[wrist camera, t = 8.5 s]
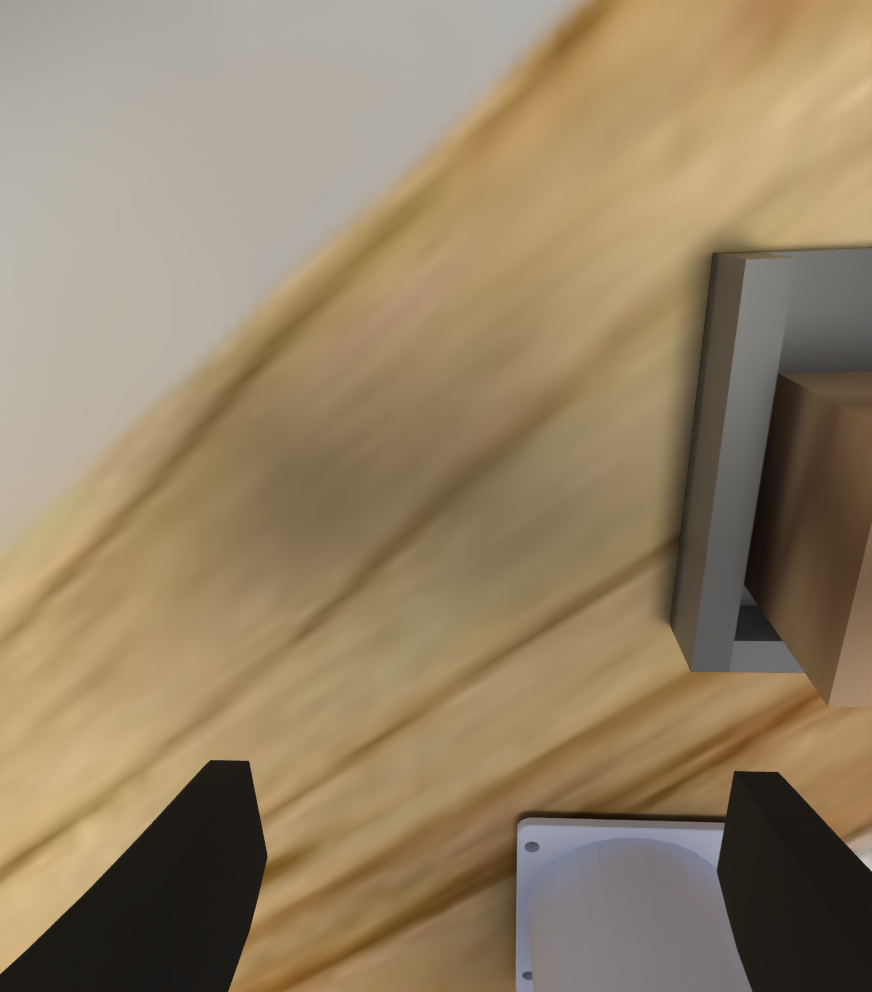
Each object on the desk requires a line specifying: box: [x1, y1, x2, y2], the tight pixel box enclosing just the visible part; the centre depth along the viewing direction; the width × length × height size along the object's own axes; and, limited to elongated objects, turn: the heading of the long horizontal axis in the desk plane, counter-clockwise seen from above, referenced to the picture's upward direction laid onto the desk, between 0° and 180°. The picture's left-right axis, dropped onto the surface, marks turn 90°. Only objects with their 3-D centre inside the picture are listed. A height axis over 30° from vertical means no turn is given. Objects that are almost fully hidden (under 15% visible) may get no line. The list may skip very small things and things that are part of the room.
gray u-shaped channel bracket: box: [670, 247, 872, 673], centre depth 17 cm, size 10×7×2 cm, turn 2°
